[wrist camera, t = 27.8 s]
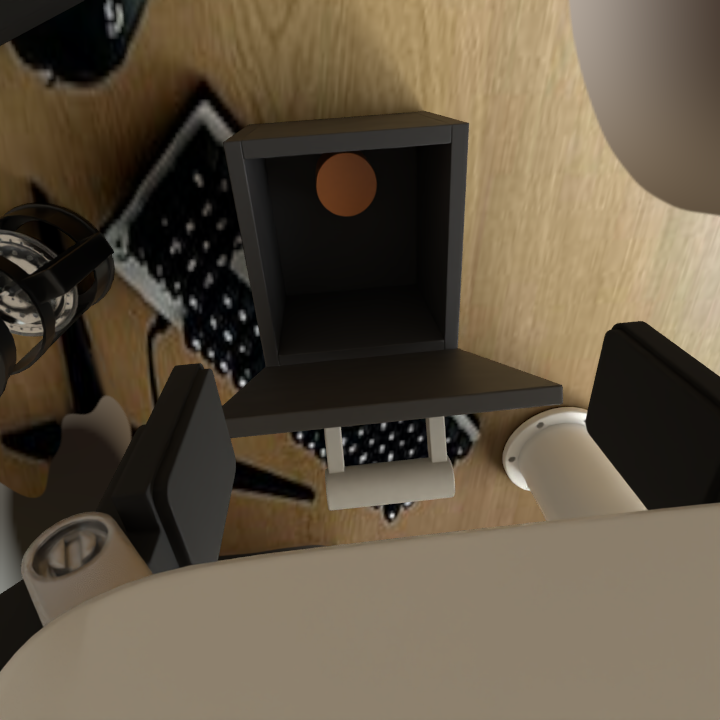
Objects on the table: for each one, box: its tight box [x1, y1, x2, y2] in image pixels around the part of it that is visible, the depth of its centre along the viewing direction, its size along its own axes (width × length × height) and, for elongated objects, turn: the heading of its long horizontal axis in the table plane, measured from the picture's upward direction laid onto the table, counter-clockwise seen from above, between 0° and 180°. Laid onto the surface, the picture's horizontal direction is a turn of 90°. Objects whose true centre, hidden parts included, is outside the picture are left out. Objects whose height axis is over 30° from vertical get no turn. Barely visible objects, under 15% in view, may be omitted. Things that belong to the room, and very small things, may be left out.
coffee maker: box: [223, 111, 469, 367], centre depth 36 cm, size 15×14×12 cm
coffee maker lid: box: [222, 348, 563, 510], centre depth 26 cm, size 16×14×5 cm
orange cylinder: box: [316, 150, 377, 216], centre depth 36 cm, size 4×4×5 cm
